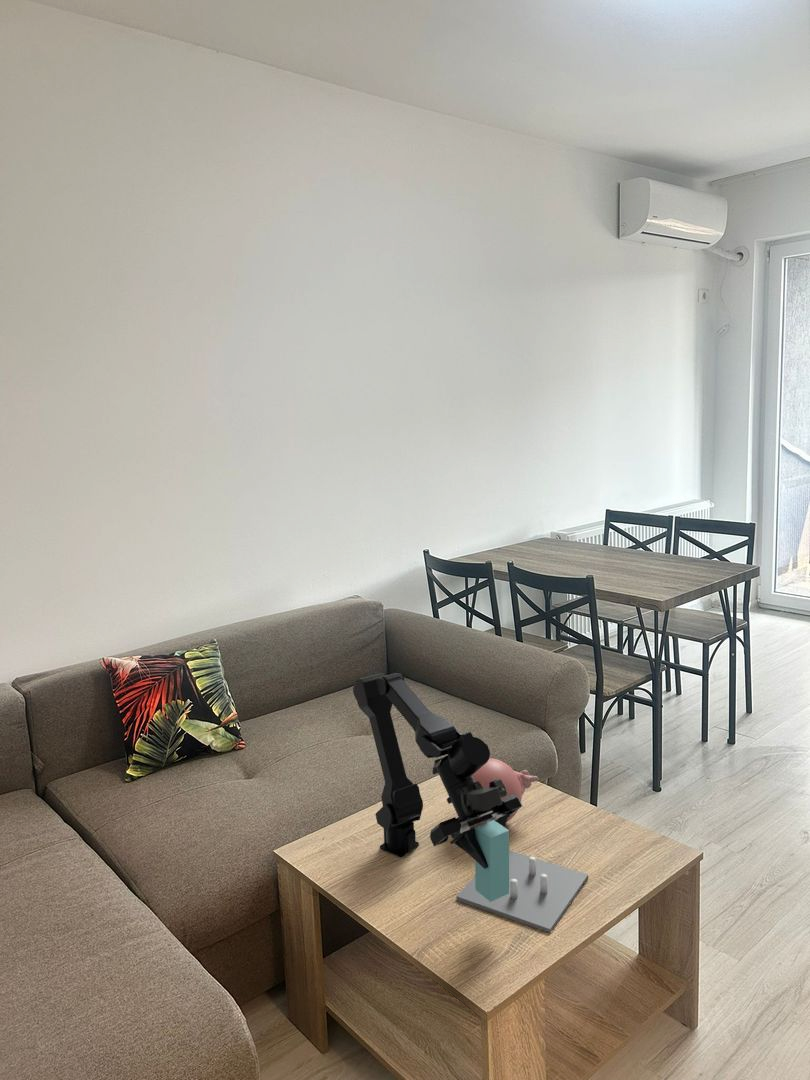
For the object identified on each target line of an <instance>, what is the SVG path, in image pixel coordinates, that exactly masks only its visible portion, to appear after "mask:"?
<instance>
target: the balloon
mask: <svg viewBox="0 0 810 1080" xmlns="http://www.w3.org/2000/svg"><path fill="white" fill-rule="evenodd" d="M472 777H473V779H474V781H475V782H478V781H479V783H481V785H482V787H483V788H486V787H489V783H490V782H491V781H494V780H497V779H501V781H502V782H503V784H504V786H505V788H506V791H507V795H506V796H504V797H501V799H503V798H506V797H508V796H511V795H515V796H516V797H518V798H519V800H520V802H521V803H522V798H523V797H522V796H523V794H524V793H525V792H526V789H530V788H531V786H532V783H534V782H538V781H539V780H540V778H539V776H536V775H531V774H530V773H529V771H528V770H527V769H523V770H521V771H520V772H519V771H515V770H514V769H513V768H512V767H511V766H510V765H509V764H507V763H505V762H504V761H502V760H500V759H497V758H492V757H490V758H489V760H488V762H487V763H486V764H485V765H483V766H482V767H481V768H480V769H479V770H478V771H477V772H475V773H474V774H473V775H472ZM518 811H519V809H518V810H517V811H516V812H514V813H513V814H512V815H510V817H509V818H508V819H507V822H506V824H507V823H508V822H509V821H511V820H512V819H513V818H514V817H515V815H516V814H517V812H518ZM485 823H487V821H484V822H482V823H479V824H477V825H476V826H480V825H482V824H485Z"/></svg>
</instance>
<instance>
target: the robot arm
mask: <svg viewBox="0 0 810 1080" xmlns="http://www.w3.org/2000/svg"><path fill="white" fill-rule="evenodd" d="M354 684H355V685H353V687H352V693H353V697H354V698H355V700H356V702H357V705H358V708H359V709H360V710H361V711H362V712H363V713H364V714H365V715H366V716H367V717H368V719H369V724H370V727H371V730H372V731H371V732H372V735H373V739H374V743H375V748H376V751H377V755H378V760H379V764H380V767H381V771H382V776H383V779H384V785H383V790H382V793H381V803H382V807H380V808H379V810H378V811H377V812H376V813H375V819H376V823H377V825H379V826H380V827H381V828H383V843H382V844H380V845H379V849H380V850H382V851H384V852H387V853H390V854H391V855H394V856H396V857H398V858H404V857H405V856H406V855H408V854H409V853H410V852H412V851H413V850H414V849H416V848H417V847H419V846H420V843H419V841H417V840H416V839H417V838H416V830H415V822H416V821H419V820H421V816H422V812H423V809H424V800H423V798H422V796H421V792H420V787H419V785H418V783H413V781H412V780H410V779H409V778H408V775H407V773H406V768H405V766H404V765H405V764H404V760H403V757H402V752H401V749H400V746H399V742H398V737H397V734H396V729H395V725H394V721H393V718H392V708H393V707H395V709H397V711H398V712H399V714H400V715H401V717H403V718H404V720H405V721H406V722H407V723H408V724H409V726H410V727H411V728H412V729H413V731H414V735H415V736H414V737H415V743H416V744H417V746H418V747H419V750H420V752H421V753H422V754H423V755H424V756H425V757H426V758H428V759H434V758H436V759H435V760H434V764H433V767H432V772H431V773H432V774H433V775H437V774H438V776H439V778H440V780H441V782H442V784H443V786H444V789H445V790H446V793H447V795H448V797H447V798H446V802H447V803H448V805H450V804H452V805H453V806H452V807H453V808H454V810H455V812H456V815H457V818H456V817H455V816H454V817H451V818H449V819H446V820H444V821H442V822H439V823H438V824H437V825H436V826H435V827H433V828H432V829H431V830H430V833H429V834H430V835H429V837H430V838H429V839H430V841H431V843H432V844H433V847H436V846H439V845H442V844H444V843H447V842H448V840H449V836H451V839H452V840H450V841H449V843H450V845H456V846H457V847H458V848H460V849H461V850H463V851H464V852H465V853H466V854H468V855H469V856H470V857H471V858H472V859H473V860H474V862H475V861H477V862H478V863H479V864H480V865H481V866H482V867H483V868H484V869H486V868H488V864H487V861H486V858H485V856H484V854H483V852H482V850H481V848H480V846H479V844H478V842H477V839H476V835H475V827H473V826H478V825H477V824H479V823H482V822H484V821H487V822H490V821H492V820H494V821H496V822H497V823H499V824H500V825H502V826H503V827H505V828H506V826H507V823H508V822H507V819H508V818H509V817H510V815H512V814H513V813H514V812H516V811H517V810H518V811H519V810H520V809H521V808H522V807H523V804H522V801H521V802H520V800H519V798H518V797H516V796H515V795H511V796H508V797H506V798H503V799H501V797H504V796H506V795H507V791H506V788H505V786H504V784H503V782H502V781H501V779H497V780H494V781H491V782H490V783H489V787H486V788H483V787H482V785H481V783H479V781H478V782H475V781H474V779H473V777H472V775H473V774H474V773H475V772H477V771H478V770H479V769H480V768H481V767H482V766H483V765H485V764H486V763H487V762H488V760H489V758H491V757H490V756H491V753H490V752H491V751H490V748H489V746H488V744H487V743H485V741H483V740H482V739H481V738H479V737H475V736H473V734H472V732H471V731H468V732H464V733H462V732H461V731H459V730H458V729H457V728H456V727H455V726H454V725H453V724H452V723H451V722H450V721H448V720H447V719H446V718H445V717H444V716H441V715H438V714H435V713H433V712H432V711H431V710H430V709H429V708H428V707H427V706H426V704H424V702H423V701H422V700H421V698H420V697H418V695H417V694H416V693H415V692H414V691H413V690H412V689H411V687H410V686H409V685H408V683H406V681H405V678H404V676H403V674H402V673H397V672H394V673H391V674H385V673H384V672H380V673H376V674H373V675H368V676H365V677H361V678H358V679H356V681H355V683H354ZM439 757H440V758H439ZM518 811H517V812H518ZM506 822H507V823H506ZM471 827H472V828H471Z"/></svg>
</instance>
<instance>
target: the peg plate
mask: <svg viewBox="0 0 810 1080" xmlns="http://www.w3.org/2000/svg"><path fill="white" fill-rule="evenodd" d="M588 879H589V873H584V872H582V871H579V870H575V869H572V868H569V867H565V866H562V865H559V864H555V863H553V862H548V861H545V860H542V859H539V858H537V857H535V856H529V855H526V854H523V853H519V852H517V851H513V850H510V849H509V894H507V895H505V896H502V897H500V898H498V899H496V900H494V901H492V902H490V901H489V900H487V899H486V898H485V897H484V896H482V895H481V894H480V893H479V892H477V891H476V890H475V875H474V876H473V877H472V878H471V880H469V881H468V882H467V884H466V885H465V886H464V887H463V888H462V890H461V891H460V892H458V893H457V895H456V897H455V899H456V901H459V902H461V903H465V904H467V905H470V906H472V907H476V908H479V909H482V910H484V911H488V912H490V913H493V914H495V915H499V916H502V917H504V918H507V919H509V920H512V921H516V922H518V923H521V924H524V925H527V926H529V927H533V928H535V929H538V930H541V931H544V932H546V933H550V934H551V933H552V931H553V930H554V929H555V927H556V925H557V924H558V923H559V921H560V920H561V918H562V917H563V915H564V914H565V912H566V911H567V909H568V908H569V907H570V905H571V904H570V903H572V902H573V901H574V899H575V898H576V897H577V895H578V893H579V892H580V891H581V889H582V888H581V887H583V886H584V885H585V883H586V882H587V880H588ZM583 884H584V885H583Z"/></svg>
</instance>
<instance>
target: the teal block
mask: <svg viewBox="0 0 810 1080" xmlns="http://www.w3.org/2000/svg"><path fill="white" fill-rule="evenodd" d="M474 828H475V835H476V839H477V842H478V844H479V846H480V848H481V850H482V852H483V854H484V856H485V858H486V861H487V864H488V868H486V869H484V868H483V867H482V866H481V865H480V864H479V863H478V862H477V861H475V860H474V865H475V866H474V869H475V870H474V876H475V890H476V891H477V892H479V893H480V894H481V895H482V896H484V897H485V898H486V899H487V900H489V901H490V902H492V901H494V900H496V899H498V898H500V897H502V896H505V895H507V894H509V850H510V830H509V829H508V828H506V827H503V826H502V825H500V824H499V823H497V822H496V821H494V820H492V821H490V822H487V823H485V824H482V825H480V826H478V825H476V826H475V827H474Z"/></svg>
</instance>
